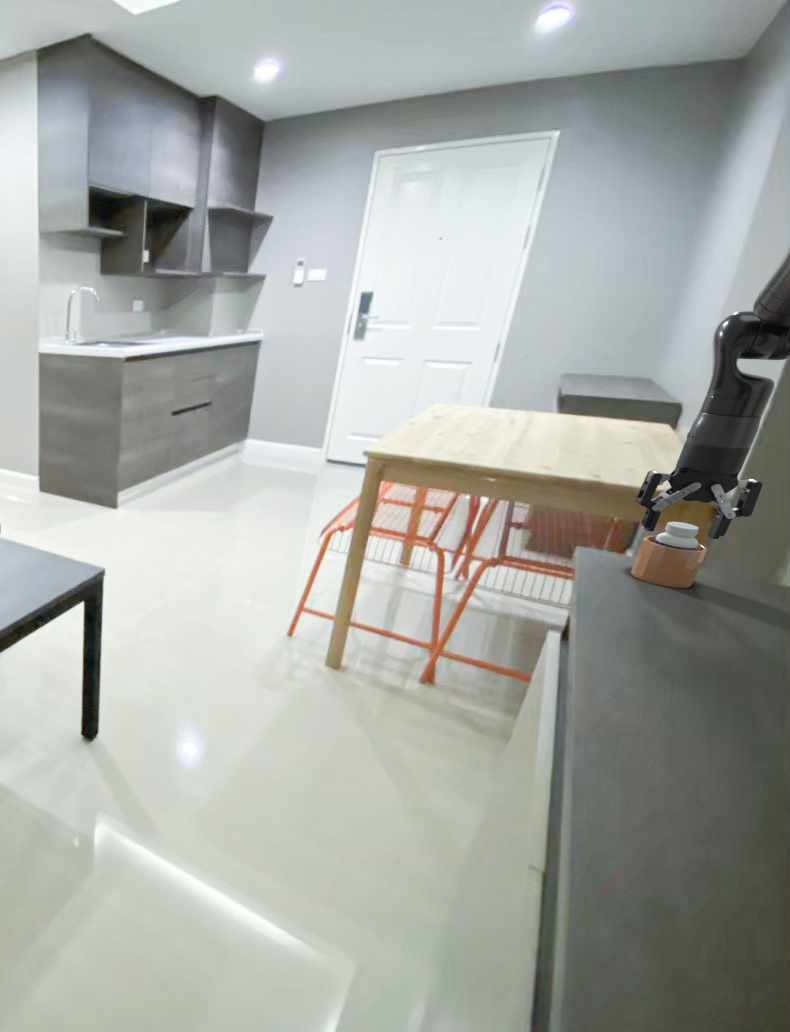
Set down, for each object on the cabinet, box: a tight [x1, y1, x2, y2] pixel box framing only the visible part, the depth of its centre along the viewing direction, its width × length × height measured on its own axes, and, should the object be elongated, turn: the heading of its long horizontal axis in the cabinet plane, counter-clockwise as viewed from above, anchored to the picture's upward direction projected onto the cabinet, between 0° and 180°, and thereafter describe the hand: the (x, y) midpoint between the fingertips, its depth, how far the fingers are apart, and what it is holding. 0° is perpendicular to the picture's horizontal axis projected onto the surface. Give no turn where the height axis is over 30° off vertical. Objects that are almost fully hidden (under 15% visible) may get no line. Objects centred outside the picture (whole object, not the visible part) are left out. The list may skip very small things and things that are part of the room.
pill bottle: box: [654, 521, 700, 551], centre depth 107 cm, size 5×5×10 cm
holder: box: [630, 535, 708, 589], centre depth 108 cm, size 8×8×7 cm
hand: (680, 533), depth 106 cm, fingers open, 8 cm apart
